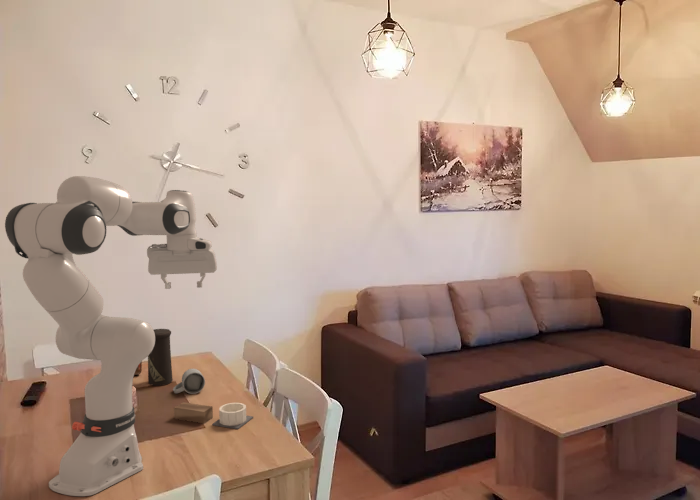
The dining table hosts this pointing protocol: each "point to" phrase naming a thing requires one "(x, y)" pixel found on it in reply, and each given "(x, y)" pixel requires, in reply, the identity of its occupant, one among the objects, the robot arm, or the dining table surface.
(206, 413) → the brown wooden block
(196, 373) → the ceramic mug
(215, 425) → the mat
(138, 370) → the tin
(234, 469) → the dining table surface
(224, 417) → the bowl
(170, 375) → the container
